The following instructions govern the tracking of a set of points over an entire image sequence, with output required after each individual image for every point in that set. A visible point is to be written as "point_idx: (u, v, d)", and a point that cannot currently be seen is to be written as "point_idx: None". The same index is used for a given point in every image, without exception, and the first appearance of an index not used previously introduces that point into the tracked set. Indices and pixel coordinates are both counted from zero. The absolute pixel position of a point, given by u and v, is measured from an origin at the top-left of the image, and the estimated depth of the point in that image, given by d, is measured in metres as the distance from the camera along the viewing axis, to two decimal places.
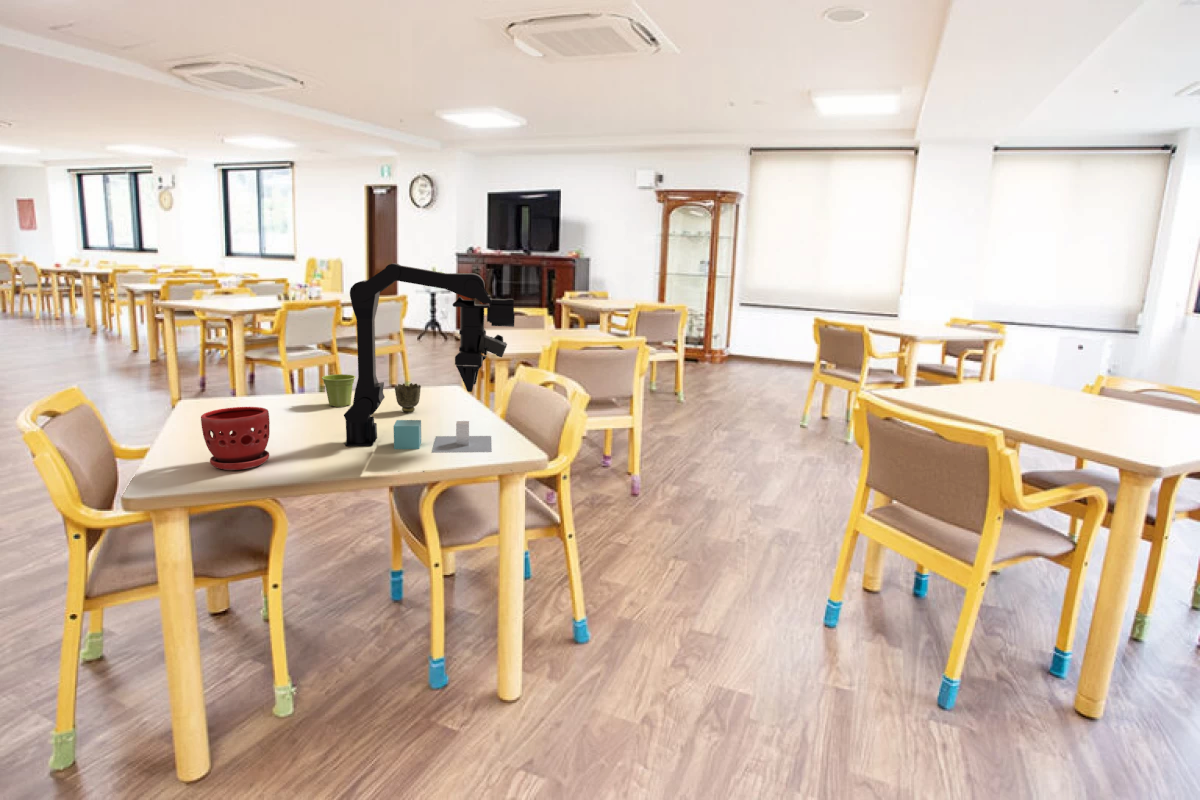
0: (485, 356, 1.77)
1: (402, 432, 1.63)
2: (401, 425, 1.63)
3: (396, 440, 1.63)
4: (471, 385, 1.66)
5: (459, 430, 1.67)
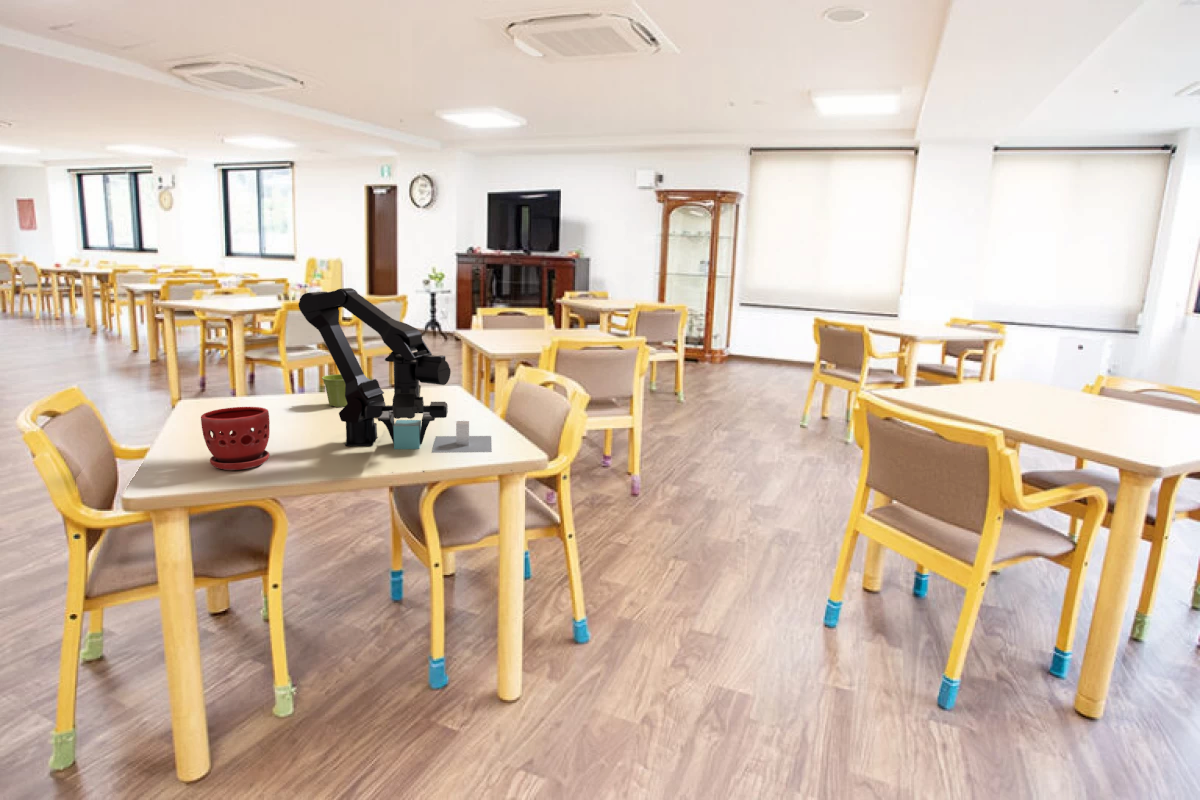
0: (429, 419, 1.63)
1: (402, 432, 1.63)
2: (401, 425, 1.63)
3: (396, 440, 1.63)
4: None
5: (459, 430, 1.67)
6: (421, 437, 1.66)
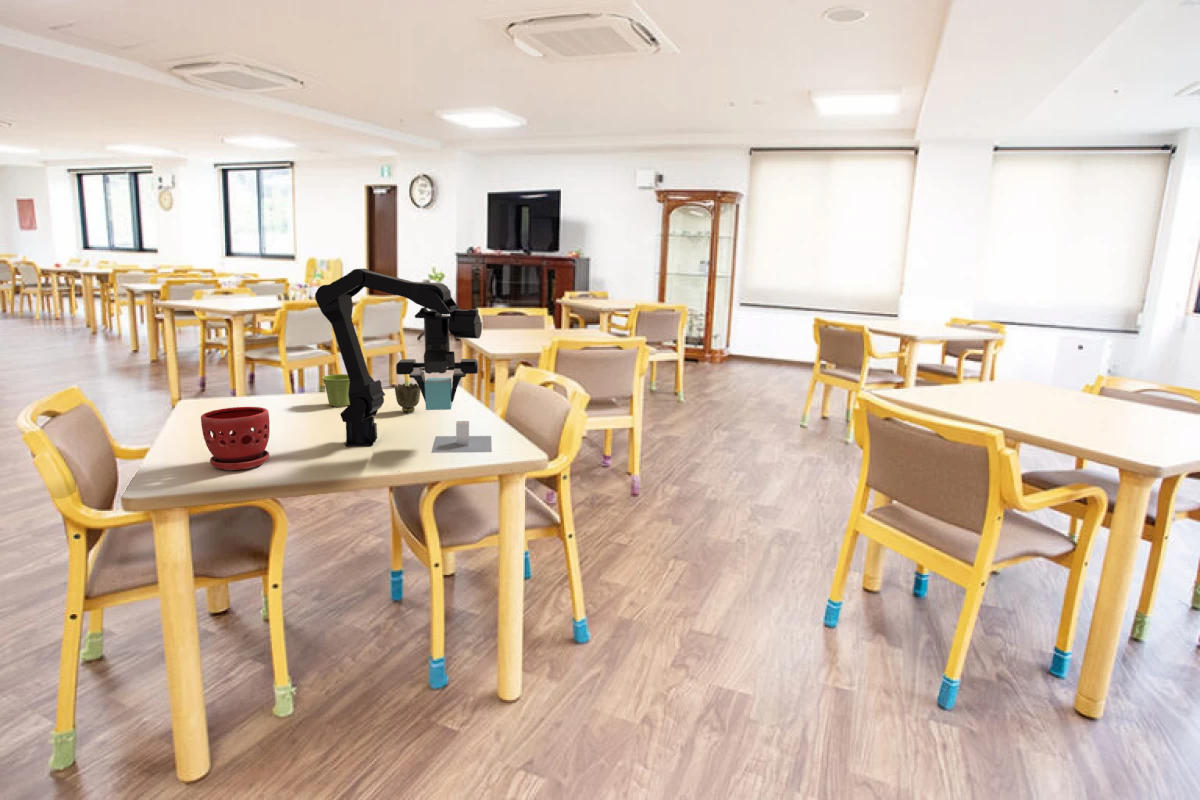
0: (460, 375, 1.62)
1: (433, 389, 1.62)
2: (432, 382, 1.62)
3: (427, 397, 1.62)
4: None
5: (459, 430, 1.67)
6: (452, 394, 1.65)
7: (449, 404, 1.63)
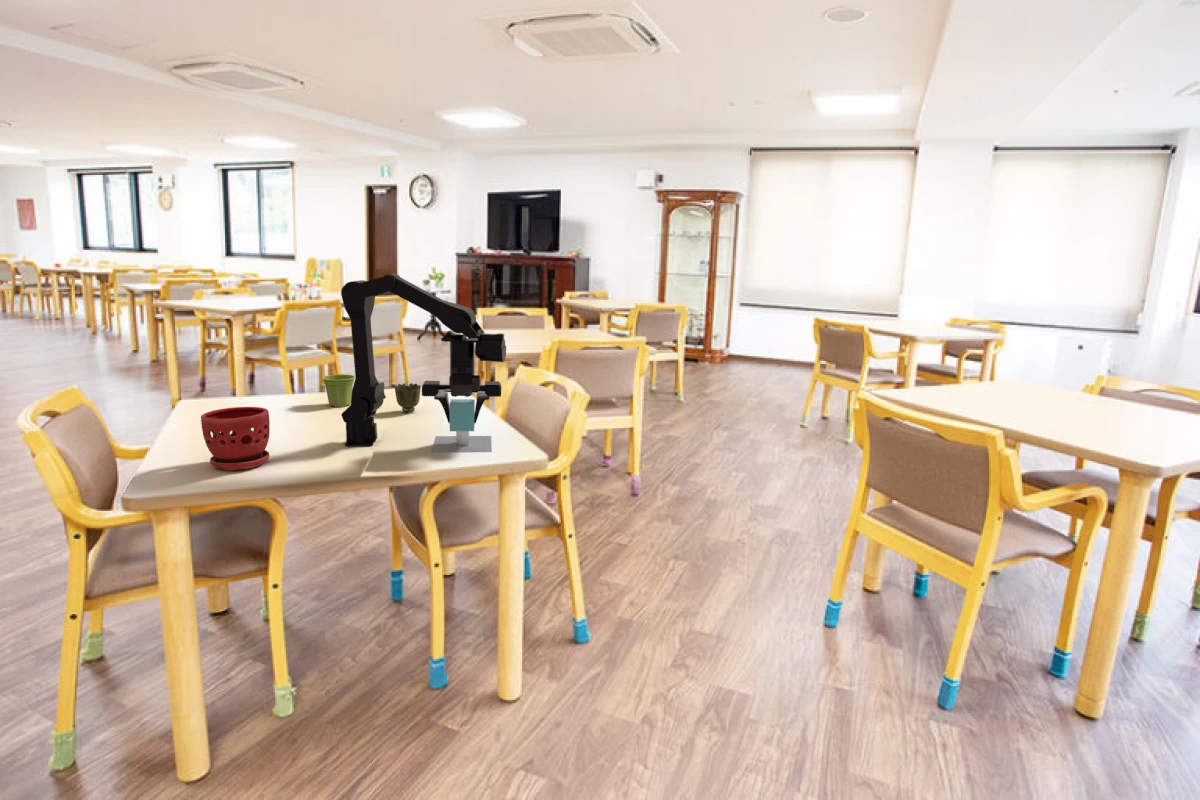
0: (484, 398, 1.65)
1: (457, 411, 1.65)
2: (457, 404, 1.65)
3: (452, 418, 1.65)
4: (446, 416, 1.67)
5: None
6: (475, 416, 1.68)
7: (473, 426, 1.66)
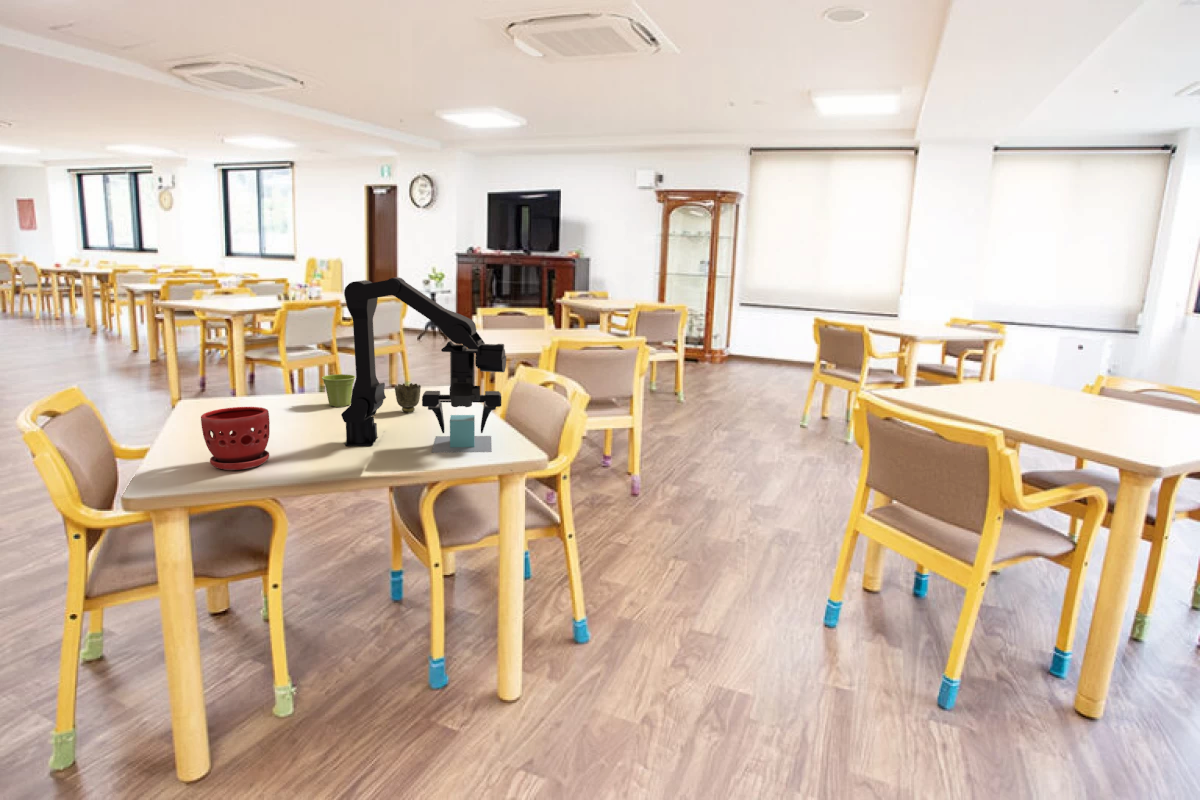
0: (491, 408, 1.66)
1: (458, 427, 1.66)
2: (457, 420, 1.66)
3: (452, 435, 1.66)
4: (440, 426, 1.67)
5: None
6: (482, 426, 1.69)
7: (473, 442, 1.67)
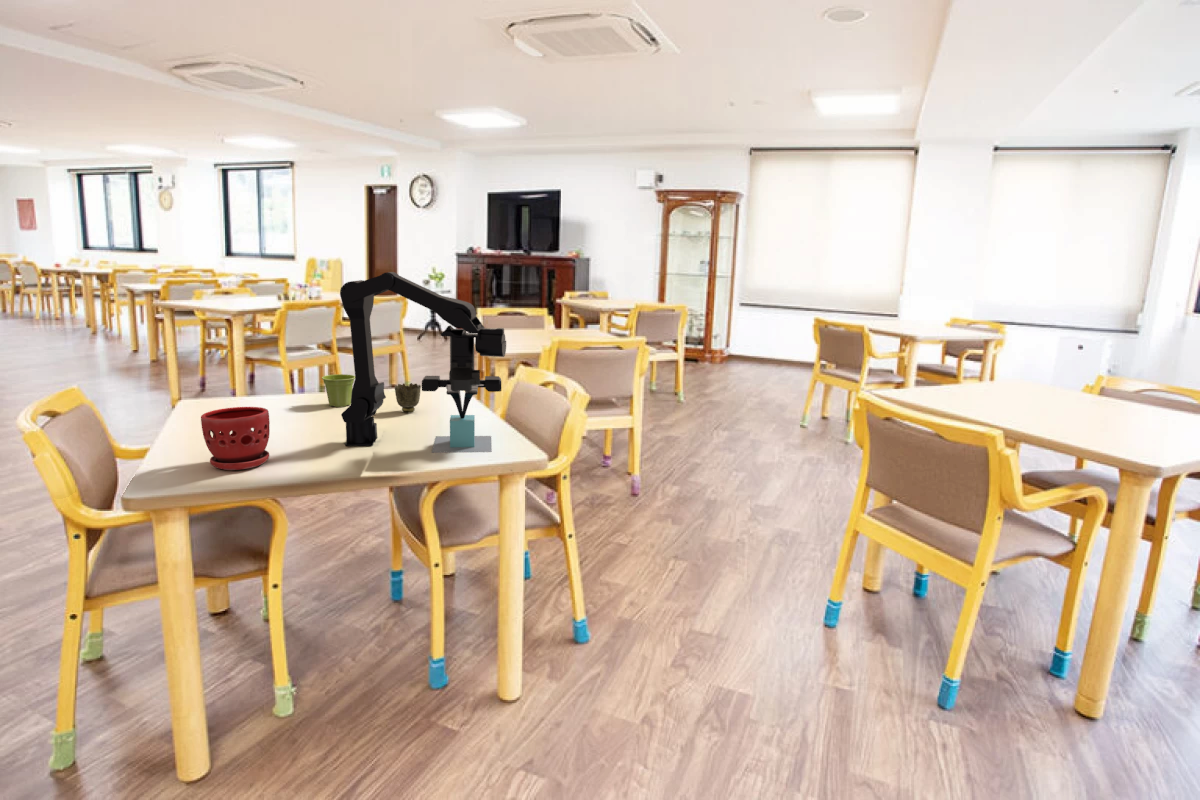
0: (472, 392, 1.65)
1: (458, 427, 1.66)
2: (457, 420, 1.66)
3: (452, 435, 1.66)
4: (458, 411, 1.67)
5: None
6: (464, 411, 1.67)
7: (473, 442, 1.67)
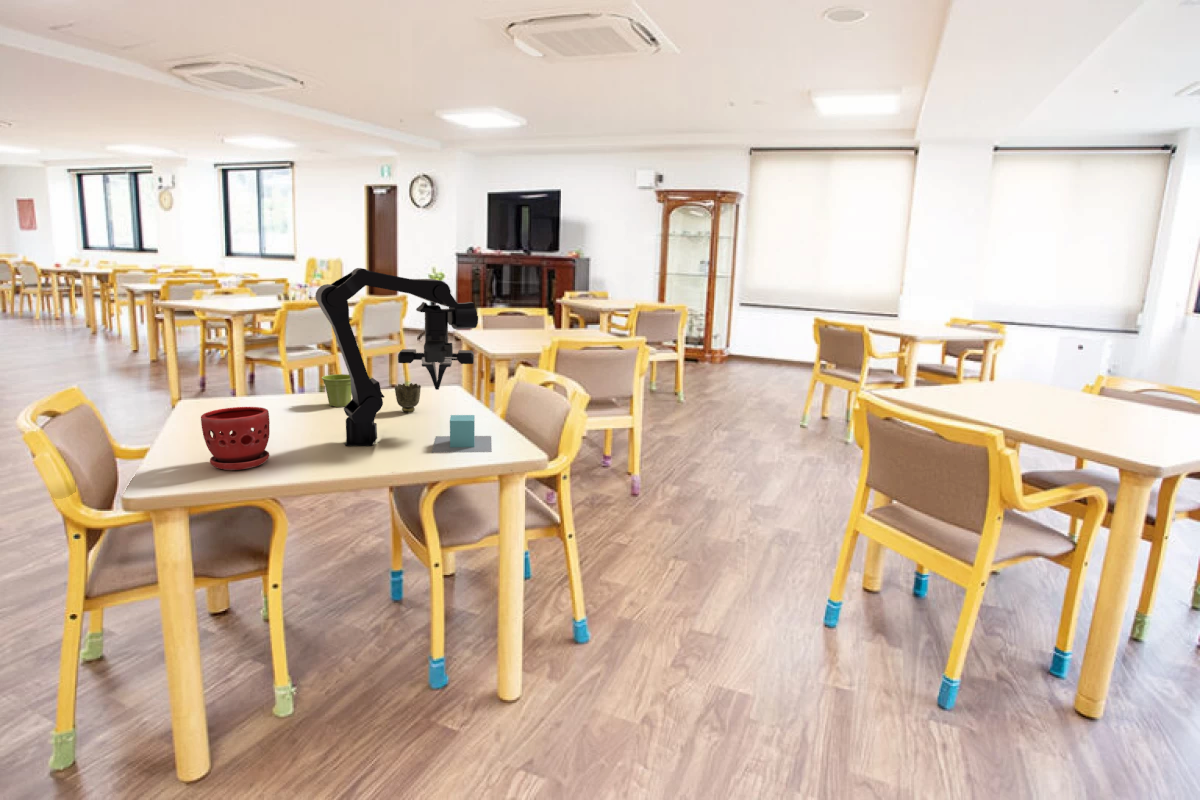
0: (446, 365, 1.75)
1: (458, 427, 1.66)
2: (457, 420, 1.66)
3: (452, 435, 1.66)
4: None
5: None
6: (438, 382, 1.77)
7: (473, 442, 1.67)
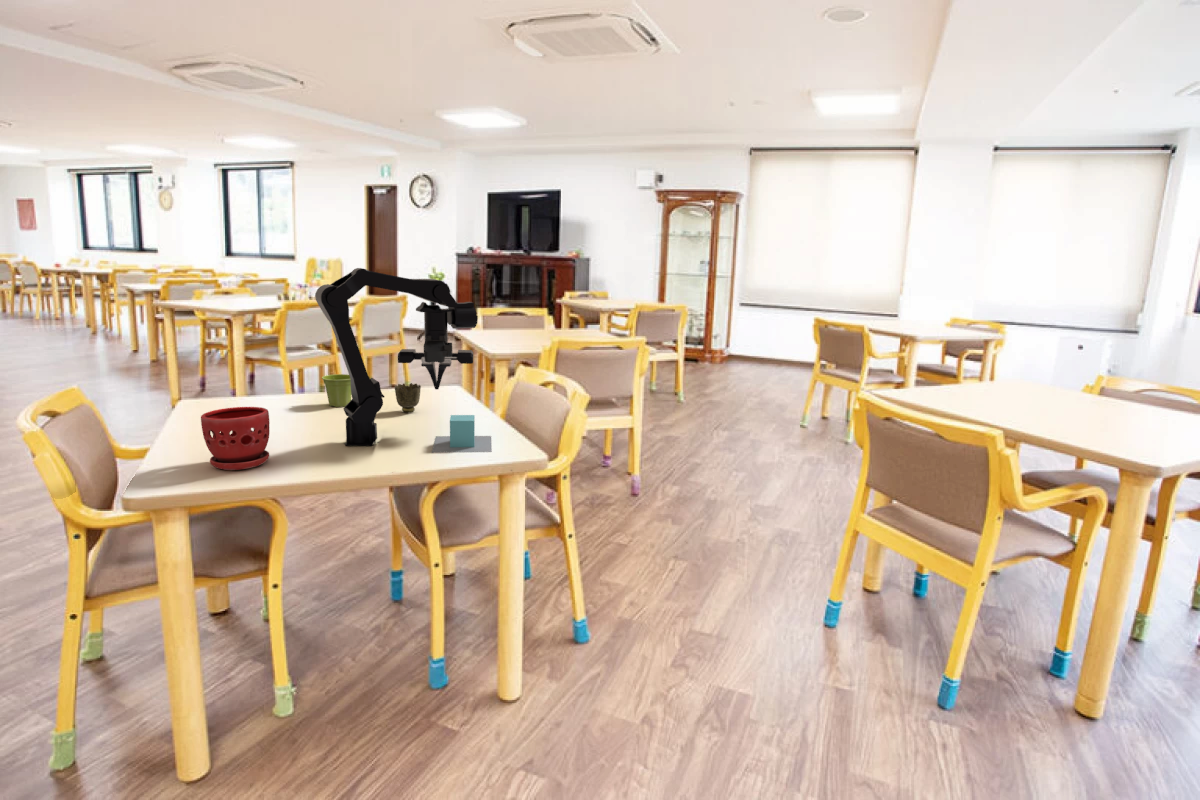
0: (445, 364, 1.75)
1: (458, 427, 1.66)
2: (457, 420, 1.66)
3: (452, 435, 1.66)
4: (433, 383, 1.78)
5: None
6: (438, 382, 1.78)
7: (473, 442, 1.67)
